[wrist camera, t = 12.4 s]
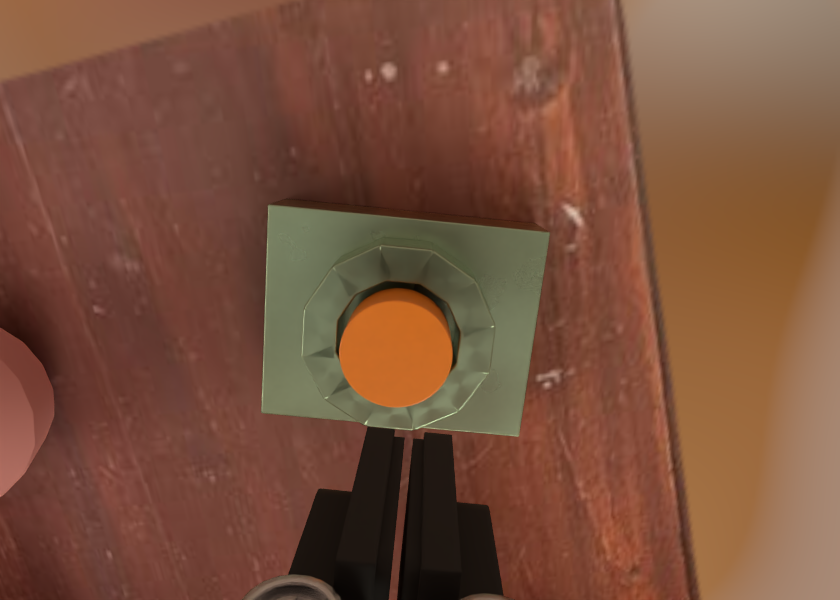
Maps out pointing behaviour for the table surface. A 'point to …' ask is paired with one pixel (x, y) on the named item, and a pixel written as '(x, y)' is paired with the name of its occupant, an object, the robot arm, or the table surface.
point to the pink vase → (21, 408)
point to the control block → (411, 269)
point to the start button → (396, 348)
